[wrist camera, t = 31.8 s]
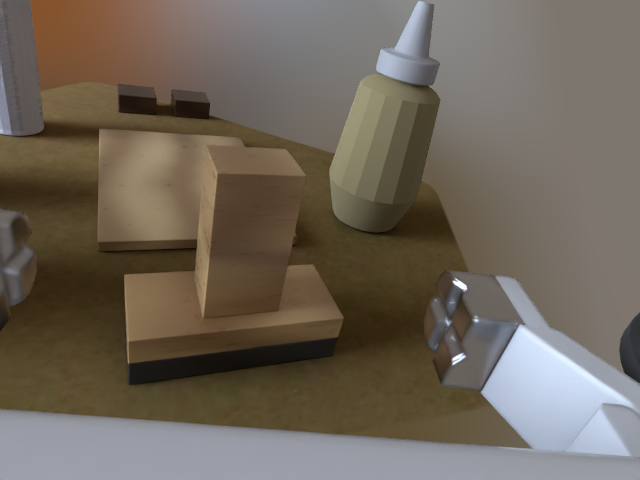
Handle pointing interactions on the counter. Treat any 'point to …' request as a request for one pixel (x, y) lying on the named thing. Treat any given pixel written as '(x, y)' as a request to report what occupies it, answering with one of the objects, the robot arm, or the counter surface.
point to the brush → (233, 280)
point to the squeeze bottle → (388, 132)
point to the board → (151, 188)
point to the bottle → (18, 71)
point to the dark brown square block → (190, 104)
